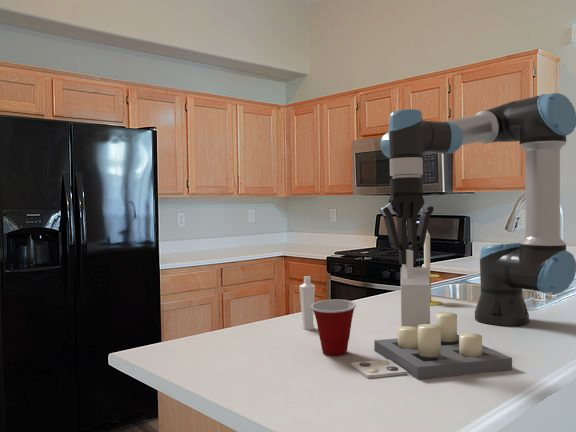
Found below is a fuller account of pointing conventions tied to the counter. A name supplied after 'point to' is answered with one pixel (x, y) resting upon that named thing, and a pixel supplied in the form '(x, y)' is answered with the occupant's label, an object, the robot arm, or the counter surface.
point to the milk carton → (415, 298)
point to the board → (442, 360)
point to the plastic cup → (334, 324)
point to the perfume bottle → (307, 303)
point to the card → (378, 368)
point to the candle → (427, 265)
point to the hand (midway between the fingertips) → (407, 277)
